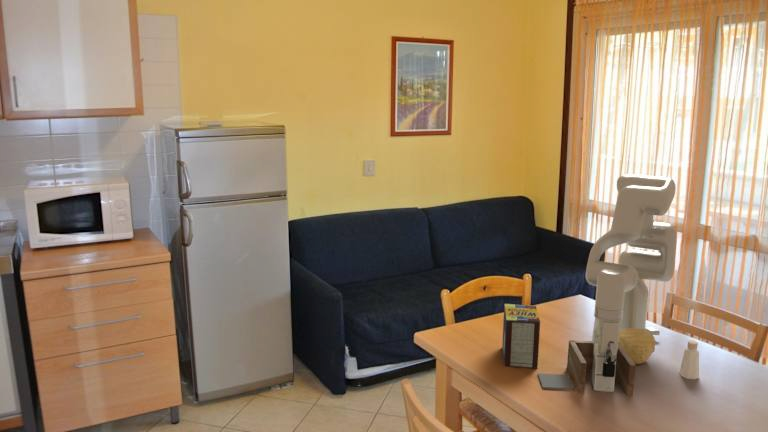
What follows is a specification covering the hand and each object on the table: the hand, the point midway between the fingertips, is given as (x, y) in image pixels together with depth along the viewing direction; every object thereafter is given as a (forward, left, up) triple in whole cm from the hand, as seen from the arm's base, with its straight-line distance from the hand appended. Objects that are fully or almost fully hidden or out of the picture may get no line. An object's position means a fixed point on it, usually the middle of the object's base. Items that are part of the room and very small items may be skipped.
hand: (603, 369), depth 178 cm
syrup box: (0, 0, -6) cm, 6 cm away
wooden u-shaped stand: (0, -4, -6) cm, 7 cm away
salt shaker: (-29, -11, -6) cm, 31 cm away
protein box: (+21, -19, -6) cm, 29 cm away
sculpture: (-15, -21, -6) cm, 26 cm away
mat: (+13, -2, -6) cm, 14 cm away
